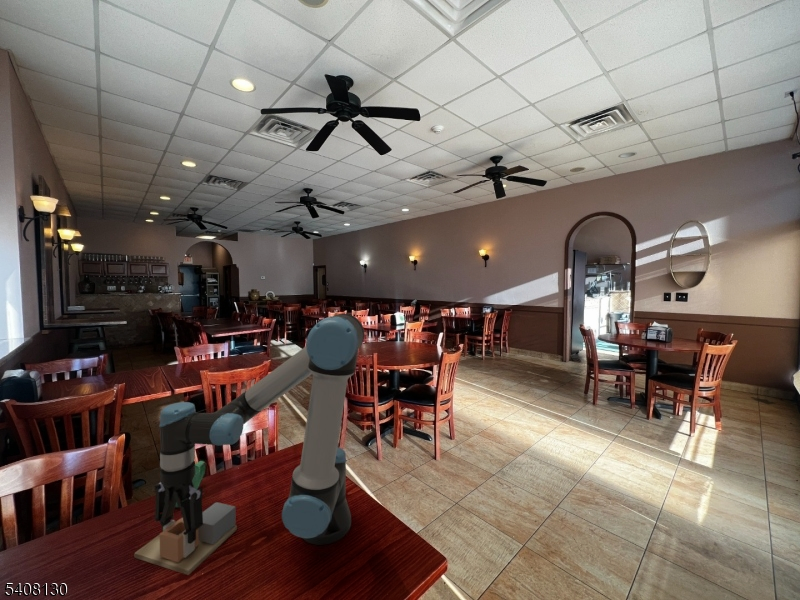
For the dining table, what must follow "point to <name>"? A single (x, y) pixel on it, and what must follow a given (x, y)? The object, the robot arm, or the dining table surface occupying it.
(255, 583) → the dining table surface
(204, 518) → the cover
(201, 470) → the green rounded tapered part
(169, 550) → the orange open-topped box
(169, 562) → the housing board
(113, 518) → the dining table surface
